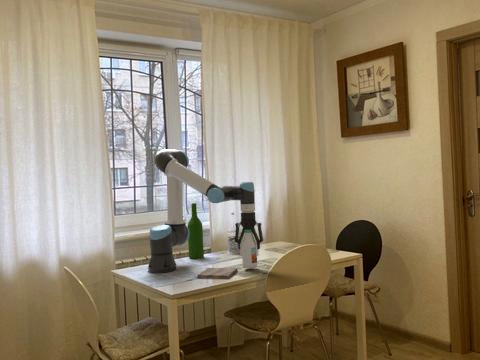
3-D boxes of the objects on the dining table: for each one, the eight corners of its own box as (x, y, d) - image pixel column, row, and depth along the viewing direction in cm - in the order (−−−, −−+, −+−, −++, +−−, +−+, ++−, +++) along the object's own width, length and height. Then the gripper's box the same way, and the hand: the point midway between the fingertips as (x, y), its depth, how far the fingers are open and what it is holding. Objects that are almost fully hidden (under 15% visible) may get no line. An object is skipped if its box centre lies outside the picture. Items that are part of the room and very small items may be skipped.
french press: (224, 252, 305) (222, 212, 304) (240, 250, 310) (239, 211, 309) (230, 254, 296) (228, 213, 295) (247, 252, 301) (245, 212, 300)
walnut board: (197, 278, 240) (197, 275, 240) (208, 270, 255) (208, 267, 255) (228, 278, 235) (228, 275, 235) (237, 271, 251) (237, 268, 251)
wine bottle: (205, 255, 296) (202, 202, 295) (201, 258, 287) (199, 204, 286) (191, 256, 297) (188, 203, 296) (187, 259, 289) (184, 204, 287)
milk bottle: (246, 269, 248) (245, 230, 247) (239, 266, 255) (238, 229, 254) (260, 267, 252) (258, 229, 251) (252, 265, 258) (251, 227, 257)
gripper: (227, 212, 251) (228, 256, 252) (265, 212, 246) (267, 257, 247) (231, 211, 258) (232, 253, 259) (268, 210, 253) (270, 254, 254)
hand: (249, 255), depth 253 cm, fingers closed on milk bottle, 7 cm apart
